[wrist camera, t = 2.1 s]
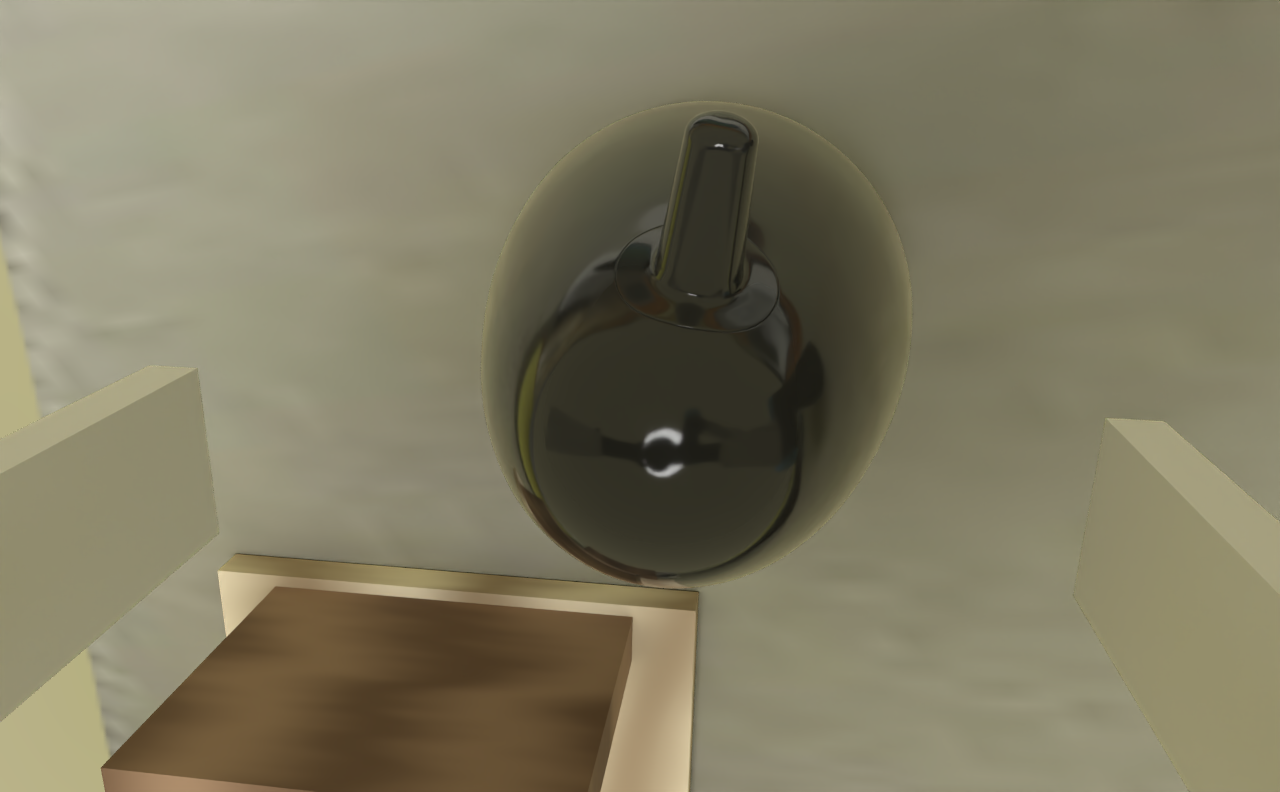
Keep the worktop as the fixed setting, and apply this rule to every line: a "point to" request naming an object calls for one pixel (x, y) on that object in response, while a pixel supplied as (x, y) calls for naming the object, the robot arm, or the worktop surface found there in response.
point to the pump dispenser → (694, 343)
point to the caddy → (426, 687)
